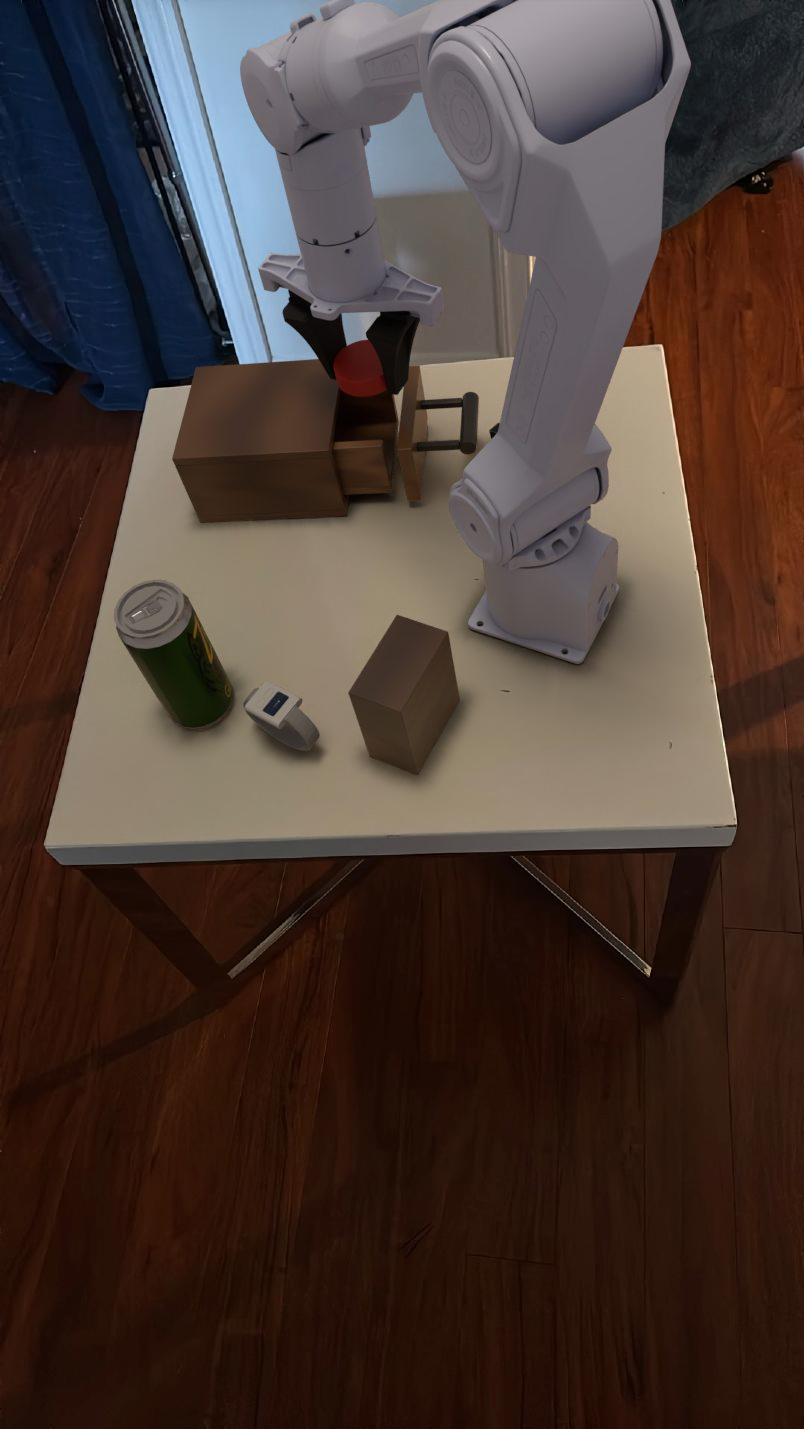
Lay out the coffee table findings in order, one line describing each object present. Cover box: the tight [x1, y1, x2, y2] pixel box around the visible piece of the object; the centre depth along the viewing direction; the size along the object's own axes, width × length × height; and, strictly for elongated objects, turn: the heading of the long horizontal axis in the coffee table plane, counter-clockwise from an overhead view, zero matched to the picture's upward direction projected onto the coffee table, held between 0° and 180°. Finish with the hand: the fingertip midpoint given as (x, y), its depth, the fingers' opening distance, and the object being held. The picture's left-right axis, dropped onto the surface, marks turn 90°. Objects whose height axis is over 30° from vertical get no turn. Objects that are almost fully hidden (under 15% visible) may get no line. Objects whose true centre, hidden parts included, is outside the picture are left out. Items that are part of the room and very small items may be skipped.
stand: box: [348, 614, 461, 775], centre depth 73 cm, size 4×7×8 cm, turn 152°
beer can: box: [113, 579, 234, 730], centre depth 75 cm, size 5×5×12 cm
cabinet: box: [171, 358, 350, 523], centre depth 90 cm, size 13×11×8 cm
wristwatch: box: [242, 680, 321, 752], centre depth 76 cm, size 6×3×5 cm, turn 55°
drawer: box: [332, 365, 480, 502], centre depth 88 cm, size 17×10×6 cm, turn 86°
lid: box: [333, 339, 387, 397], centre depth 82 cm, size 5×5×2 cm
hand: (368, 378), depth 83 cm, fingers closed on lid, 5 cm apart
